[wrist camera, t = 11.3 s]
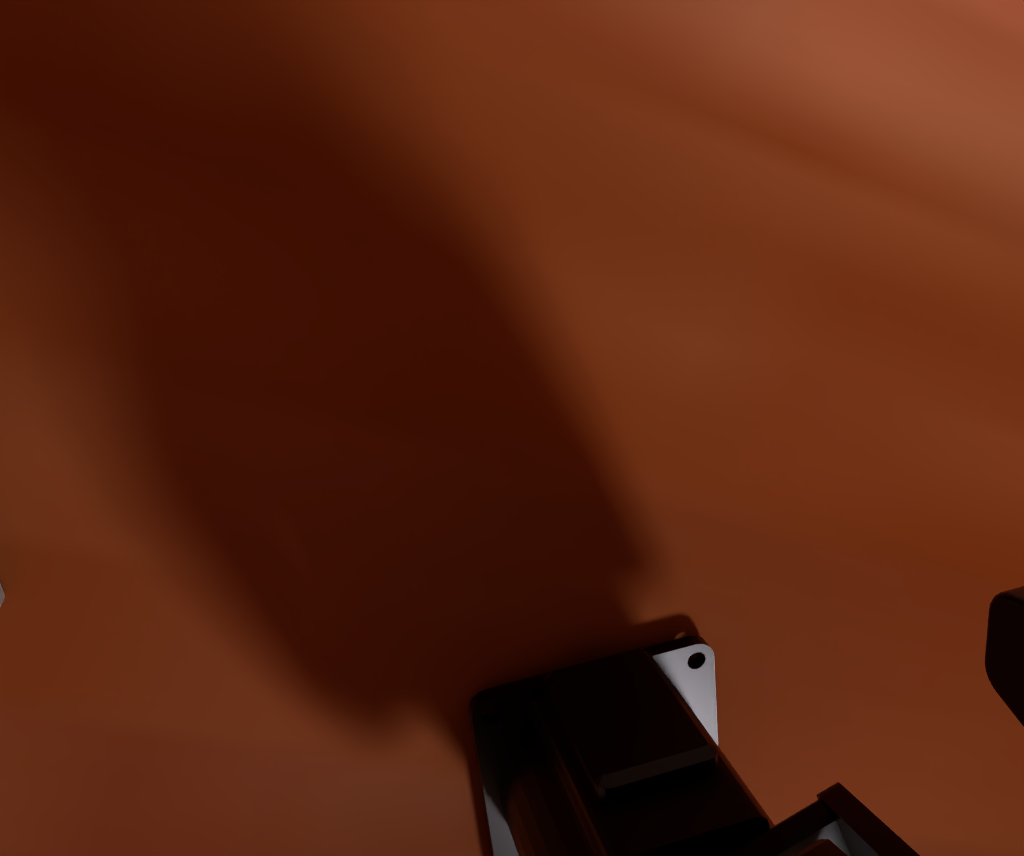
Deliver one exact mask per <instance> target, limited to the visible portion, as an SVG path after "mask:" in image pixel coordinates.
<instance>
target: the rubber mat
mask: <svg viewBox="0 0 1024 856" xmlns="http://www.w3.org/2000/svg"><path fill="white" fill-rule="evenodd" d="M4 598H5V595H4V592H3V589H2V586H1V584H0V606H1V604H2V602H3V600H4Z"/></svg>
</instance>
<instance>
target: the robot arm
mask: <svg viewBox="0 0 1024 856" xmlns="http://www.w3.org/2000/svg"><path fill="white" fill-rule="evenodd" d="M696 652H698V655H697V656H696V657H695V658H694V659H692V660H690V661H688V658H689V657H690V656H691V655H692V654H694V653H696ZM985 667H986V672H987V675H988V678H989V680H990V682H991V684H992V686H993V688H994V689H995V691H996V692H997V693H998V694H999V696H1000V697H1001V698H1002V700H1003V701H1004V702H1005V703H1006V705H1007V706H1008V707H1009V708H1010V710H1011V711H1012V712H1013V714H1014V715H1015V716H1016V717H1017V719H1018V720H1019V721H1020V722H1021V724H1022V725H1023V726H1024V586H1022V587H1019V588H1015V589H1011V590H1008V591H1004V592H1001V593H999V594H997V595H996V596H995V597H994V598H993V600H992V602H991V603H990V608H989V617H988V629H987V641H986V653H985ZM490 707H497V709H496V710H495V712H493V713H491V714H483V712H484V711H485V710H486V709H488V708H490ZM469 715H470V721H471V727H472V733H473V740H474V746H475V752H476V758H477V765H478V771H479V777H480V783H481V789H482V796H483V802H484V808H485V814H486V821H487V827H488V833H489V839H490V846H491V852H492V856H919V855H918V854H917V853H916V852H915V851H914V850H913V849H912V848H911V847H910V846H908V845H907V844H906V843H905V842H904V841H903V840H902V839H901V838H900V837H899V836H897V835H896V834H895V833H894V832H893V831H892V830H891V829H890V828H889V827H888V826H886V825H885V824H884V823H883V822H882V821H881V820H880V819H879V818H878V817H876V816H875V815H874V814H873V813H872V812H871V811H870V810H869V809H868V808H867V807H865V806H864V805H863V804H862V803H861V802H860V801H859V800H858V799H857V798H856V797H854V796H853V795H852V794H851V793H850V792H849V791H848V790H847V789H846V788H845V787H843V786H842V785H841V784H840V783H839V782H838V783H836V784H834V785H833V786H831V787H829V788H828V789H826V790H824V791H822V792H821V793H819V794H817V798H818V800H817V801H815V802H814V803H812V804H810V805H809V806H807V807H805V808H804V809H802V810H800V811H799V812H797V813H795V814H794V815H792V816H790V817H789V818H787V819H785V820H784V821H782V822H780V823H778V824H777V825H774V824H773V822H772V821H771V820H770V818H769V817H768V815H767V814H766V813H765V811H764V810H763V808H762V807H761V806H760V804H759V803H758V801H757V800H756V799H755V797H754V796H753V794H752V793H751V792H750V790H749V789H748V787H747V786H746V785H745V783H744V782H743V780H742V779H741V778H740V776H739V775H738V773H737V772H736V771H735V769H734V768H733V766H732V765H731V764H730V762H729V761H728V759H727V758H726V757H725V755H724V754H723V752H722V751H721V750H720V748H719V747H718V733H717V709H716V685H715V661H714V653H713V650H712V649H711V648H710V646H709V645H708V644H707V643H706V642H705V640H704V639H703V638H701V637H698V636H688V637H684V638H681V639H677V640H673V641H669V642H665V643H661V644H658V645H654V646H650V647H646V648H642V649H636V650H632V651H628V652H625V653H621V654H617V655H613V656H609V657H605V658H602V659H598V660H594V661H590V662H586V663H583V664H579V665H575V666H571V667H567V668H563V669H560V670H556V671H553V672H551V673H547V674H543V675H539V676H536V677H532V678H528V679H524V680H520V681H516V682H513V683H509V684H505V685H501V686H497V687H494V688H490V689H486V690H484V691H481V692H479V693H478V694H477V695H475V696H474V697H473V698H472V700H471V702H470V704H469Z"/></svg>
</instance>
